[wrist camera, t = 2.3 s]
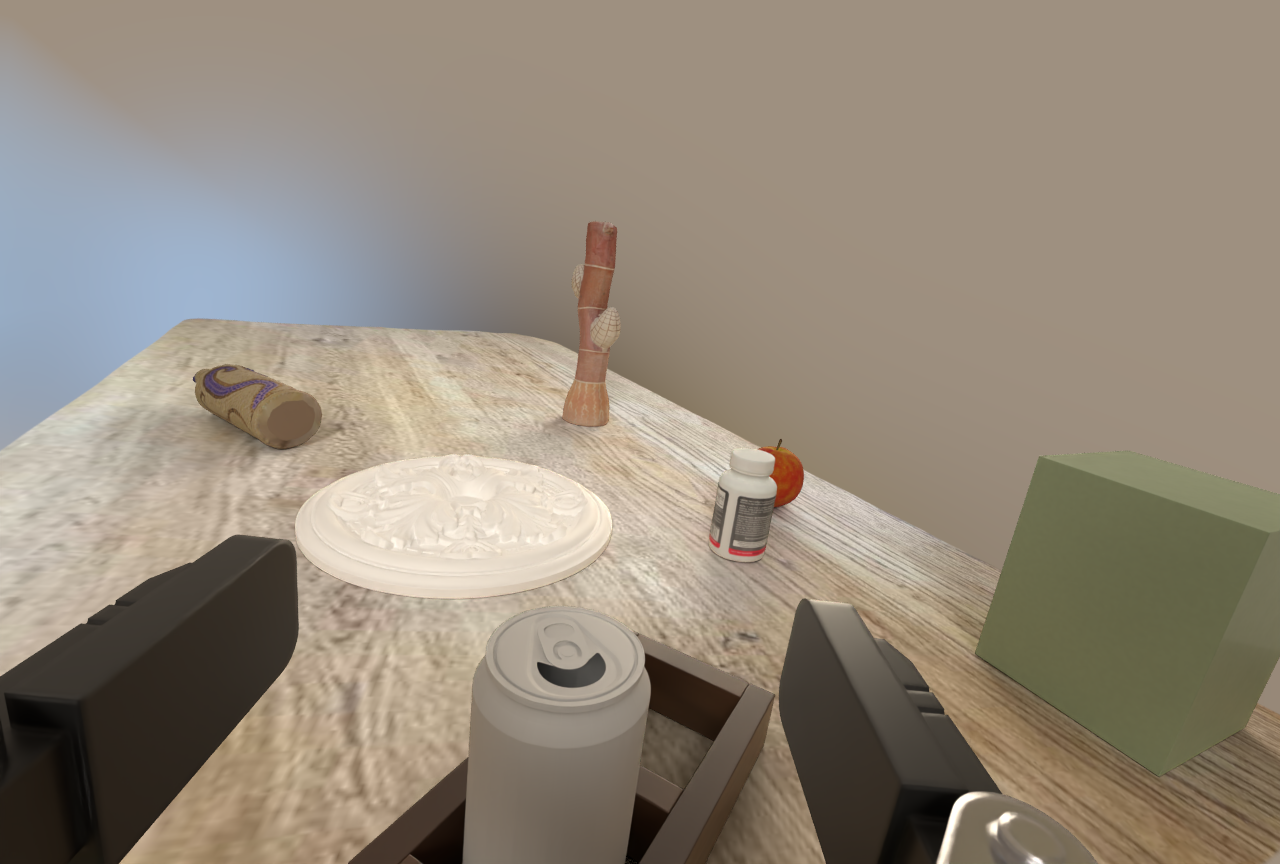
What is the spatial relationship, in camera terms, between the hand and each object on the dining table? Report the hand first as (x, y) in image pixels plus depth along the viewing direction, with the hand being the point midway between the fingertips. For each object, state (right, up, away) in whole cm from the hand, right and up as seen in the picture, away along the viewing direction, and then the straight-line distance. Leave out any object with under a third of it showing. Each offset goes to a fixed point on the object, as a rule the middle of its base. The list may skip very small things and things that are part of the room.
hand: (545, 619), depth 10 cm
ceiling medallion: (-15, -5, +48) cm, 50 cm away
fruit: (+16, -6, +61) cm, 63 cm away
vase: (-8, +5, +87) cm, 87 cm away
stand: (+35, -16, +34) cm, 51 cm away
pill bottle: (+11, -9, +48) cm, 50 cm away
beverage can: (-3, -16, +15) cm, 22 cm away
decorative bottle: (-47, +4, +66) cm, 81 cm away
